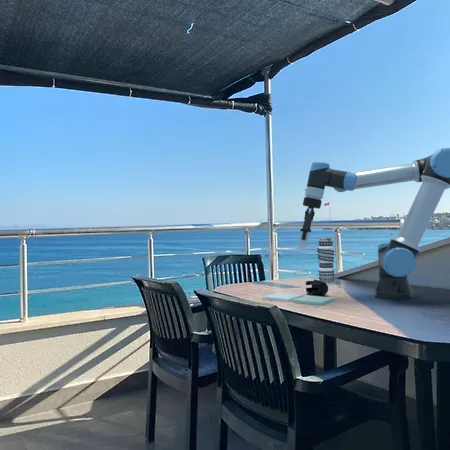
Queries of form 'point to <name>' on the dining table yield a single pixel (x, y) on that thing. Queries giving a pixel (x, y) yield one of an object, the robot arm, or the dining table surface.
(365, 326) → the dining table surface
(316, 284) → the end cap
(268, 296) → the pale blue mat
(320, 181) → the robot arm
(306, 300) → the sage mat
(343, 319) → the dining table surface
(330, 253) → the decorative candle
